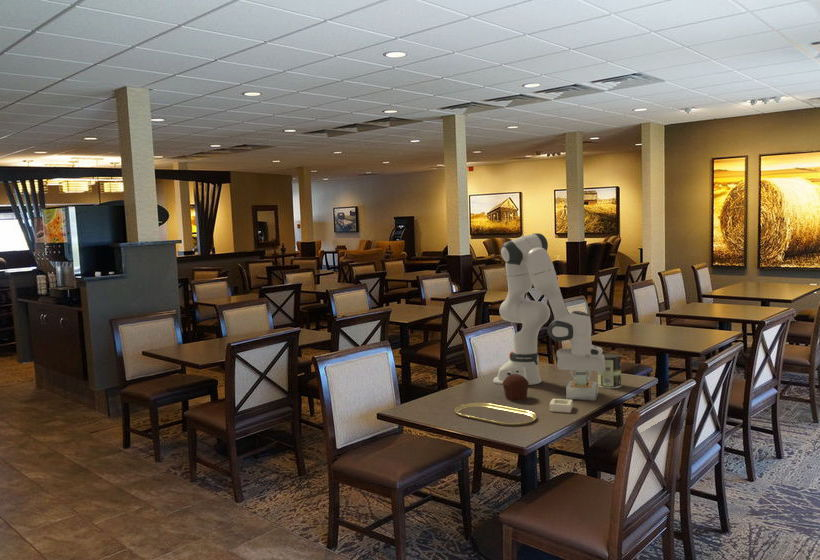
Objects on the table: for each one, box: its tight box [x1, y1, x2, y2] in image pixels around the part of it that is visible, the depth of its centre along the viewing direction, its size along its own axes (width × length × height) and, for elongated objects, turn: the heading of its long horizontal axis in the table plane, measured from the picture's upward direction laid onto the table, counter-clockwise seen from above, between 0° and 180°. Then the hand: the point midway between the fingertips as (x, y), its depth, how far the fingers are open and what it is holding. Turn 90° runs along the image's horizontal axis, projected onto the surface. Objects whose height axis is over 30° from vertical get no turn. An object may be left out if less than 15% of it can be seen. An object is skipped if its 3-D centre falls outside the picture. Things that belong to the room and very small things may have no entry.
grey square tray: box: [549, 398, 573, 414], centre depth 258 cm, size 8×8×3 cm
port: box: [565, 380, 599, 401], centre depth 276 cm, size 12×12×5 cm
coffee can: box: [597, 352, 622, 389], centre depth 291 cm, size 10×10×14 cm
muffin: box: [501, 374, 529, 402], centre depth 277 cm, size 12×11×10 cm
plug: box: [575, 371, 588, 386], centre depth 276 cm, size 4×4×9 cm
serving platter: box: [454, 402, 538, 427], centre depth 254 cm, size 19×35×2 cm, turn 48°
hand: (581, 380), depth 276 cm, fingers closed on plug, 4 cm apart
